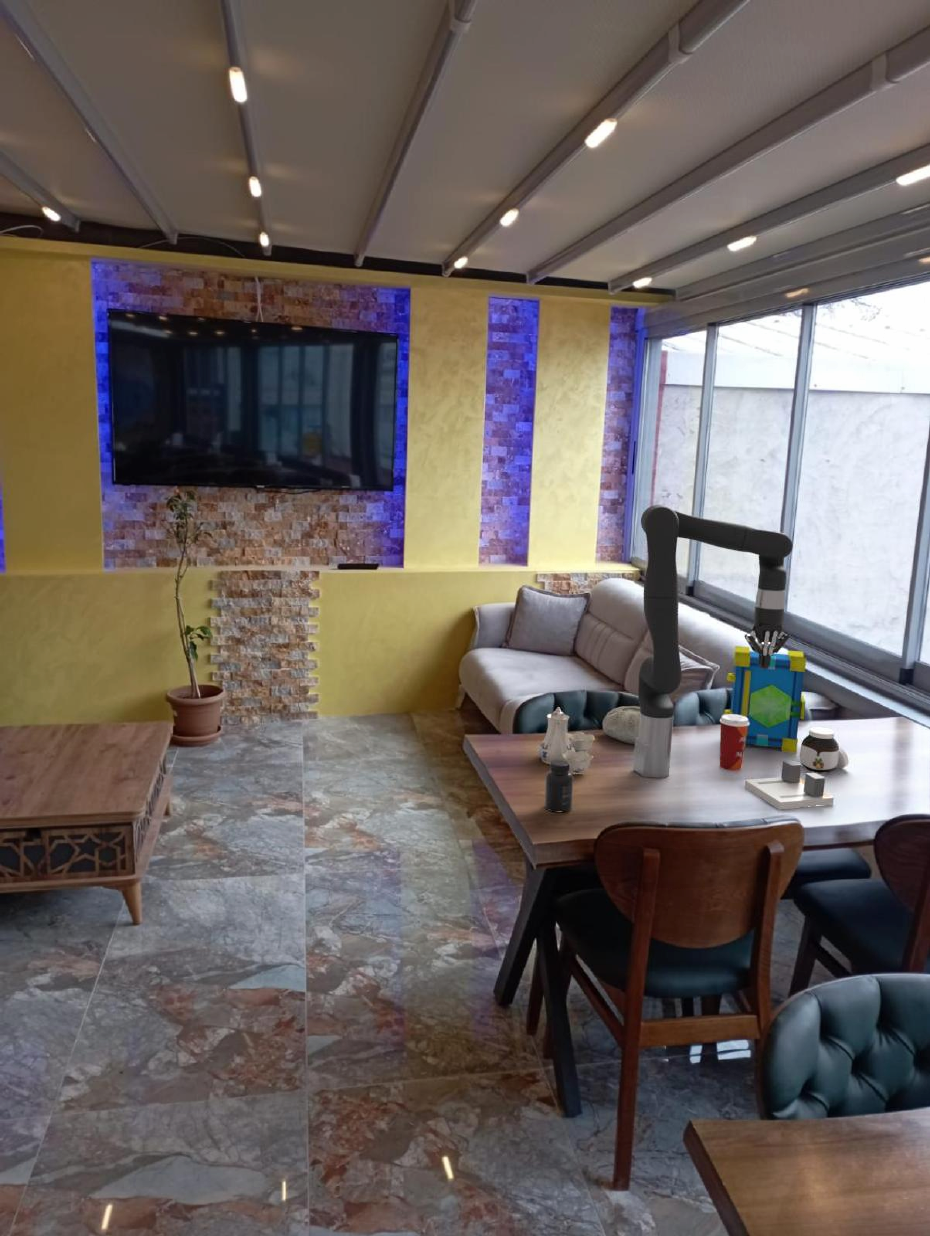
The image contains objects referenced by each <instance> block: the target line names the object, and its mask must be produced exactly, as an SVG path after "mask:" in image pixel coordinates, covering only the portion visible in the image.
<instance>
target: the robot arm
mask: <svg viewBox="0 0 930 1236" xmlns="http://www.w3.org/2000/svg"><path fill="white" fill-rule="evenodd" d="M640 524H641V528H642V530H643V532H644V533H645V537H646V545H647V566H646V572H645V576H644V577H645V578H644V585H643V612H644V613H643V614H644V618H645V622H646V625H647V628H648V631H649V635H650V638H651V641H652V646H653V647H652V650H653V651H652V652H653V655H650V656H648V657H647V658H645V659H644V661H643V662H642V663H641V664H640V665H641V666H640V667H639V673H638V689H637V690H638V691H637V693H638V694H637V696H638V697H637V698H638V703H639V707H640V721H639V734H638V738H635V744H634V752H633V753H634V754H633V765H632V769H633V771H635V772H636V773H637V774H638V775H640V776H641V777H647V778H654V779H655V778H656V779H657V778H666V777H668V776H670V767H671V757H672V756H671V753H672V743H673V741H672V740H673V728H674V717H675V716H674V714H675V707H674V703H673V702H672V700H671V697H670V694H673V693H675V692H676V691H677V689H678V688H679V686H680V684H681V681H682V663H681V658H680V657H681V655H680V648H679V647H680V646H679V583H678V582H679V581H678V580H679V579H678V578H679V577H678V569H677V547H678V546H677V545H678V539H679V538H680V539H687V540H692V541H696V542H700V543H703V544H707V545H710V546H713V547H718V548H721V549H726V550H731V551H737V552H740V553H751V554H755V555H757V556H758V566H759V573H758V582H757V591H756V594H755V604H754V614H753V622H754V624H753V626H752V631H751V632H750V633H746V634H744V639H745V640H746V642H747V644H748V645H749V648H751V650H752V652H757V653H758V654H759V659H758V665H759V667H760V668H762V669H768V667H769V666H770V660H771V655H772V654H773V653H774V654H779V653H778V652H779V651H780V650H781V649H782V648H783V646H784V645H785V644H786V642H787V641H788V640H789V638H790V635H788V634H786V633H785V632H784V631H783V630H784V629H783V627H782V625H783V623H784V615H785V606H786V605H785V604H786V584H787V571H786V569H785V566H784V564H785V558H787V557H788V556H789V555H790V554H791V552H792V551H793V546H794V544H793V541H792V539H791V537H790V536H789V535H787V534H786V533H783V532H780V531H776V530H764V529H757V528H755V527H751V526H749V525H748V526H747V525H744V524H739V523H734V522H727V521H722V520H715V519H708V518H703V517H699V516H698V517H697V516H694V515H690V514H687V513H682V512H680V511H677V510H674V509H672V508H670V507H669V506H666V505H664V504H653V505H651V506H649V507H648V508H646V509H645V510H644V511H643V513H642V515H641V518H640ZM756 640H757V641H756Z"/></svg>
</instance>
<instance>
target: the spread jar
mask: <svg viewBox="0 0 930 1236" xmlns="http://www.w3.org/2000/svg"><path fill="white" fill-rule="evenodd" d="M808 730H809V731H808V735H807V736H806V737H804V738H803V740H801V741H802V742H801V745H800V750H799V751H800V752H799V761H800V764H801V766H803V768H805V769H806V770H807V771H810V772H812V771H813V772H812V773H816V772H817V774H827V773H830V772H832V771H834V770H835V769H837V768H838V769H840V770H841V769H844V768H845V767H848V765H849V757H848V754H847V753H846V751H845V750H844V749H843V748H842V747H841V746H839V743H838V742H837V740H836V738H835V731H834V730H832V729H829V728H825V727H817V726H814V727H813V726H812V727H810V728H809V729H808Z"/></svg>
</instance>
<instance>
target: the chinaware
mask: <svg viewBox="0 0 930 1236" xmlns="http://www.w3.org/2000/svg"><path fill="white" fill-rule="evenodd" d="M546 718H547V730H546V733H545V736H544V739H543V740H542V741H541V743H540V745H539V746H538V747H537V749H536V751H537V754H538V755H539V756H540V758H541V759H543V760H544V761H547V762H551V761H553V760H565V761H568V762H569V763H570V767H569V768H570V770H569V772H570V773H571V774H572V775H574V772H575V773H580V772H582V773H583V772H584V771H586V770H587V769H588V768H589V766H590V763H591V761H592V760H593V759H594V755H592V754H590V753H588V752H589V750H590V749H591V747H592V745H593V742H594V741H595V740H596V738H595V736H594V735H593V734H591V733H590V734H585V733H584V732H580V731H578V732H577V731H576V732H574V733H570V732H569V733H568V721H569V719H570V716H569V715H567V714H565V713H564V712H563V711H562V710H561V707H559V706H558V707H556V709H555V710H554V711H553V712H552V713H549V714H547V715H546ZM587 751H588V752H587ZM576 752H577V753H576ZM571 771H572V772H571Z"/></svg>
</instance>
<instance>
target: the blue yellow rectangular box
mask: <svg viewBox="0 0 930 1236" xmlns="http://www.w3.org/2000/svg"><path fill="white" fill-rule="evenodd" d="M787 652H788V653H787V654H786V653H785V654H784V653H773V654H772V655H771V660H770V666H769V667H768V669H762V668H760V667H759V665H758V659H759V654H758V653H757V652H754V651H750V646H741V645H740V646H738V645H734V655H733V661H734V667H733V669H734V670H733V672H729V673H727V677H726V681H728V682H729V683H732V692H731V701H730V702H731V703H730V704H731V705H730V708H729V709H724V711H723V715H725V714H736V715H741V716H745V717H747V718H748V722H749V725H748V729H747V735H746V742H745V744H747V745H749V744H750V745H755V746H757V747H758V746H759V747H778V748H781V752H782V753H791V754H797V751H798V742H799V741H798V731H799V730H798V729H799V722H800V721H799V720H800V719H801V720H804V719H805V711H806V710H805V709H806V699H805V697H804V694H803V693H802V692H803V681H804V674H805V671H806V665H807V657H804V651H800V650H788V651H787Z"/></svg>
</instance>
